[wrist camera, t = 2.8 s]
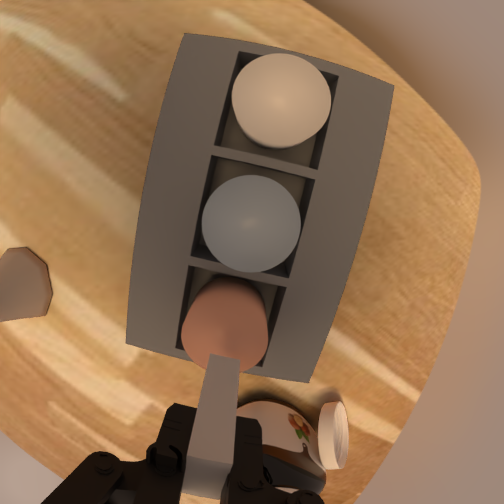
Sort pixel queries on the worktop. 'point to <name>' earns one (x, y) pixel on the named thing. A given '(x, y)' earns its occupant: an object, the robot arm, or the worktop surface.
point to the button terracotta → (226, 323)
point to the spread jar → (299, 443)
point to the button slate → (251, 223)
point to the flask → (23, 285)
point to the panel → (262, 164)
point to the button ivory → (280, 101)
